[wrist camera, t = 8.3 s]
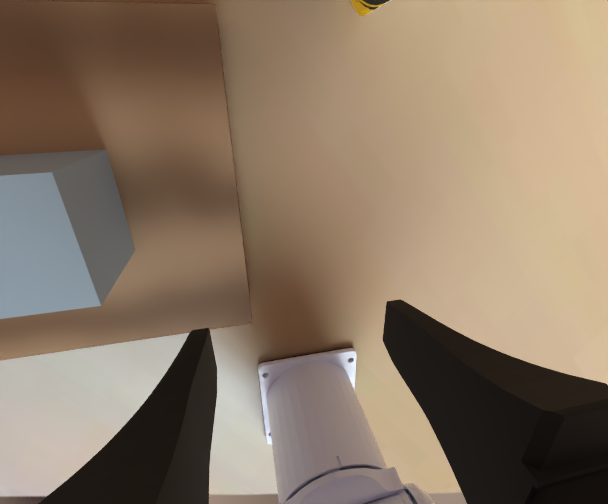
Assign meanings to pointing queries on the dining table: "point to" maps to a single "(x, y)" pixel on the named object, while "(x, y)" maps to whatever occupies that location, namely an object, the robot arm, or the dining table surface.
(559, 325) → the dining table surface
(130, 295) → the walnut plinth
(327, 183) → the dining table surface
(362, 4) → the medicine bottle
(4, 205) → the slate block
